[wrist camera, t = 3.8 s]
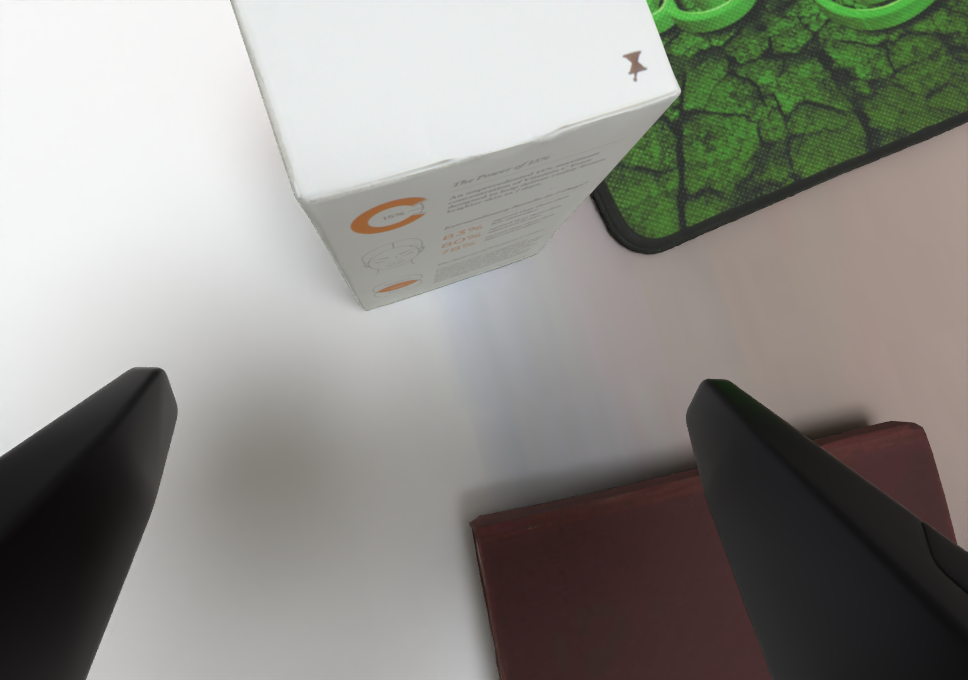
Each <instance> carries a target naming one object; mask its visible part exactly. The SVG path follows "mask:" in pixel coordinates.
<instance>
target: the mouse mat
mask: <svg viewBox="0 0 968 680" xmlns="http://www.w3.org/2000/svg"><path fill="white" fill-rule="evenodd" d="M646 2H647V4H648V7H649V9H650V12H651V14H652V17H653V20H654V22H655V25H656V28H657V30H658V33H659V36H660V38H661V41H662V44H663V47H664V49H665V52H666V55H667V58H668V60H669V63H670V66H671V68H672V71H673V74H674V76H675V78H676V80H677V82H678V85H679V87H680V89H681V93H680V95H679V96H678V97H677V98H676V100H675V101H674V102H673V103H672V104H671V105H670V106H669V107H668V108H667V110H666V111H665V112H664V113H663V114H662V115H661V116H660V117H659V119H658V120H657V121H656V122H655V123H654V124H653V125H652V126H651V127H650V128H649V129H648V131H647V132H646V133H645V134H644V135H643V136H642V137H641V138H640V140H639V141H638V142H637V143H636V144H635V145H634V146H633V147H632V148H631V150H630V151H629V152H628V153H627V154H626V155H625V156H624V157H623V158H622V159H621V161H620V162H619V163H618V164H617V165H616V166H615V167H614V168H613V170H612V171H611V172H610V173H609V174H608V175H607V176H606V177H605V178H604V179H603V181H602V182H601V183H600V184H599V185H598V186H597V187H596V188H595V189H594V190H593V195H594V197H595V200H596V201H597V203H598V206H599V208H600V211H601V213H602V215H603V217H604V219H605V222H606V223H607V225H608V229H609V230H610V232H611V234H612V235H613V236H614V237H615V238H616V239H617V240H618V241H619V242H620V243H621V244H623V245H624V246H625V247H627V248H629V249H631V250H633V251H636V252H640V253H644V254H656V253H660V252H663V251H666V250H669V249H671V248H673V247H675V246H678V245H680V244H682V243H684V242H686V241H689V240H691V239H694V238H696V237H698V236H699V235H702V234H704V233H706V232H709V231H711V230H714V229H717V228H718V227H720V226H723V225H725V224H727V223H730V222H732V221H735V220H737V219H739V218H741V217H744V216H746V215H749V214H751V213H753V212H755V211H758V210H760V209H762V208H765V207H767V206H769V205H772V204H773V203H776V202H779V201H781V200H784V199H786V198H787V197H791V196H794V195H795V194H797V193H799V192H801V191H804V190H806V189H809V188H811V187H813V186H815V185H817V184H820V183H822V182H825V181H827V180H829V179H831V178H834V177H836V176H838V175H841V174H843V173H846V172H849V171H851V170H853V169H856V168H858V167H861V166H864V165H866V164H869V163H871V162H874V161H876V160H878V159H880V158H883V157H886V156H888V155H890V154H892V153H895V152H898V151H901V150H903V149H905V148H907V147H909V146H912V145H915V144H918V143H920V142H923V141H926V140H928V139H930V138H932V137H934V136H937V135H939V134H942V133H944V132H946V131H949V130H951V129H953V128H955V127H958V126H960V125H962V124H964V123H966V122H968V0H646Z"/></svg>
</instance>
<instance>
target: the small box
mask: <svg viewBox="0 0 968 680" xmlns="http://www.w3.org/2000/svg"><path fill="white" fill-rule="evenodd" d="M230 1H231V4H232V7H233V10H234V13H235V16H236V19H237V23H238V26H239V29H240V32H241V35H242V38H243V41H244V44H245V47H246V50H247V53H248V56H249V59H250V62H251V65H252V68H253V71H254V74H255V77H256V80H257V83H258V86H259V89H260V92H261V95H262V98H263V101H264V105H265V108H266V111H267V114H268V117H269V120H270V123H271V126H272V129H273V132H274V135H275V138H276V141H277V144H278V147H279V150H280V153H281V156H282V159H283V162H284V165H285V168H286V171H287V174H288V177H289V180H290V183H291V186H292V189H293V192H294V195H295V197H296V199H297V200H298V202H299V203H300V205H301V206H302V208H303V209H304V211H305V212H306V214H307V215H308V217H309V218H310V220H311V222H312V223H313V225H314V227H315V228H316V230H317V232H318V234H319V235H320V237H321V239H322V241H323V242H324V244H325V246H326V248H327V249H328V251H329V253H330V254H331V256H332V258H333V260H334V261H335V263H336V265H337V266H338V268H339V270H340V271H341V273H342V275H343V277H344V279H345V281H346V282H347V284H348V286H349V288H350V289H351V291H352V293H353V295H354V296H355V298H356V300H357V301H358V303H359V305H360V306H361V307H362V308H363V309H364V310H365V311H368V310H371V309H374V308H377V307H380V306H384V305H387V304H390V303H393V302H396V301H399V300H402V299H405V298H409V297H412V296H415V295H418V294H421V293H424V292H427V291H430V290H433V289H436V288H439V287H442V286H445V285H448V284H451V283H454V282H457V281H460V280H463V279H466V278H469V277H472V276H475V275H478V274H481V273H484V272H487V271H490V270H493V269H496V268H499V267H502V266H505V265H508V264H511V263H513V262H516V261H519V260H522V259H525V258H527V257H530V256H533V255H536V254H537V253H538V252H539V251H540V250H541V248H542V247H543V246H544V245H545V244H546V243H547V242H548V241H549V240H550V238H551V237H552V236H553V235H554V233H555V232H556V231H557V230H558V229H559V228H560V227H561V225H562V224H563V223H564V222H565V221H566V220H567V219H568V218H569V217H570V215H571V214H572V213H573V212H574V211H575V210H576V209H577V208H578V207H579V206H580V204H581V203H582V202H583V201H584V200H585V199H586V198H587V197H588V196H589V195H590V194H591V193H592V192H593V190H594V189H595V188H596V187H597V186H598V185H599V184H600V183H601V182H602V181H603V179H604V178H605V177H606V176H607V175H608V174H609V173H610V172H611V171H612V170H613V168H614V167H615V166H616V165H617V164H618V163H619V162H620V161H621V159H622V158H623V157H624V156H625V155H626V154H627V153H628V152H629V151H630V150H631V148H632V147H633V146H634V145H635V144H636V143H637V142H638V141H639V140H640V138H641V137H642V136H643V135H644V134H645V133H646V132H647V131H648V129H649V128H650V127H651V126H652V125H653V124H654V123H655V122H656V121H657V120H658V119H659V117H660V116H661V115H662V114H663V113H664V112H665V111H666V110H667V108H668V107H669V106H670V105H671V104H672V103H673V102H674V101H675V100H676V98H677V97H678V96H679V95H680V93H681V89H680V87H679V85H678V82H677V80H676V78H675V76H674V74H673V71H672V68H671V66H670V63H669V60H668V58H667V55H666V52H665V49H664V47H663V44H662V41H661V38H660V36H659V33H658V30H657V28H656V25H655V22H654V20H653V17H652V14H651V12H650V9H649V7H648V4H647V2H646V0H230Z"/></svg>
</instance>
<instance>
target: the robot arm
mask: <svg viewBox="0 0 968 680" xmlns="http://www.w3.org/2000/svg"><path fill="white" fill-rule="evenodd" d="M177 413H178V408H177V403H176V400H175V397H174V394H173V391H172V388H171V386H170V383H169V380H168V377H167V375H166V373H165V371H164V370H163V369H161V368H157V367H135V368H132V369H130V370H128V371H126V372H125V373H123V374H122V375H121V376H119V377H118V378H116V379H115V380H113V381H112V382H110V383H109V384H107V385H106V386H104V387H103V388H101V389H100V390H98V391H97V392H95V393H94V394H92V395H91V396H90V397H88V398H87V399H85V400H84V401H82V402H81V403H79V404H78V405H76V406H75V407H73V408H72V409H70V410H69V411H67V412H66V413H64V414H63V415H61V416H60V417H59V418H57V419H56V420H54V421H53V422H51V423H50V424H48V425H47V426H45V427H44V428H42V429H41V430H39V431H38V432H36V433H35V434H33V435H32V436H31V437H29V438H28V439H26V440H25V441H23V442H22V443H20V444H19V445H17V446H16V447H14V448H13V449H11V450H10V451H8V452H7V453H5V454H4V455H2V456H1V457H0V680H86V678H87V675H88V673H89V670H90V667H91V665H92V662H93V660H94V657H95V655H96V652H97V650H98V647H99V645H100V642H101V640H102V637H103V635H104V632H105V629H106V627H107V624H108V622H109V619H110V617H111V614H112V612H113V609H114V607H115V604H116V602H117V599H118V596H119V594H120V591H121V589H122V586H123V584H124V581H125V579H126V576H127V574H128V571H129V569H130V566H131V563H132V561H133V558H134V556H135V553H136V551H137V548H138V546H139V543H140V541H141V538H142V536H143V533H144V530H145V528H146V525H147V523H148V520H149V518H150V515H151V512H152V509H153V507H154V503H155V500H156V497H157V493H158V489H159V486H160V482H161V478H162V474H163V470H164V466H165V462H166V459H167V455H168V451H169V447H170V443H171V439H172V435H173V432H174V428H175V424H176V420H177ZM686 423H687V427H688V431H689V435H690V439H691V443H692V447H693V451H694V455H695V459H696V463H697V467H698V471H699V475H700V479H701V483H702V487H703V491H704V494H705V498H706V501H707V504H708V507H709V510H710V512H711V515H712V518H713V521H714V523H715V526H716V529H717V531H718V534H719V537H720V539H721V542H722V545H723V548H724V550H725V553H726V556H727V558H728V561H729V564H730V567H731V569H732V572H733V575H734V577H735V580H736V583H737V586H738V588H739V591H740V594H741V596H742V599H743V602H744V604H745V607H746V610H747V613H748V615H749V618H750V621H751V623H752V626H753V629H754V632H755V634H756V637H757V640H758V642H759V645H760V648H761V650H762V653H763V656H764V659H765V661H766V664H767V667H768V669H769V672H770V675H771V678H772V680H968V552H967V551H965V550H964V549H962V548H961V547H960V546H958V545H957V544H955V543H954V542H952V541H951V540H950V539H948V538H947V537H945V536H944V535H943V534H941V533H940V532H938V531H937V530H936V529H934V528H933V527H932V526H930V525H929V524H927V523H926V522H921V520H920V518H919V517H918V516H916V515H915V514H913V513H912V512H911V511H909V510H908V509H906V508H905V507H904V506H902V505H901V504H900V503H898V502H897V501H895V500H894V499H893V498H891V497H890V496H888V495H887V494H886V493H884V492H883V491H881V490H880V489H879V488H877V487H876V486H875V485H873V484H872V483H870V482H869V481H868V480H866V479H865V478H863V477H862V476H861V475H859V474H858V473H857V472H855V471H854V470H852V469H851V468H850V467H848V466H847V465H845V464H844V463H843V462H841V461H840V460H838V459H837V458H836V457H834V456H833V455H832V454H830V453H829V452H827V451H826V450H825V449H823V448H822V447H820V446H819V445H818V444H816V443H815V442H814V441H812V440H811V439H809V438H808V437H807V436H805V435H804V434H802V433H801V432H800V431H798V430H797V429H795V428H794V427H793V426H791V425H790V424H789V423H787V422H786V421H784V420H783V419H782V418H780V417H779V416H777V415H776V414H775V413H773V412H772V411H771V410H769V409H768V408H766V407H765V406H764V405H762V404H761V403H759V402H758V401H757V400H755V399H754V398H752V397H751V396H750V395H748V394H747V393H746V392H744V391H743V390H741V389H740V388H739V387H737V386H736V385H734V384H733V383H732V382H730V381H728V380H725V379H706V380H704V381H703V382H701V384H700V385H699V387H698V389H697V391H696V393H695V395H694V397H693V400H692V402H691V404H690V406H689V408H688V410H687V414H686Z"/></svg>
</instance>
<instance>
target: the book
mask: <svg viewBox="0 0 968 680" xmlns="http://www.w3.org/2000/svg"><path fill="white" fill-rule="evenodd" d="M812 441H814V442H815V443H816V444H818V445H819V446H820V447H822V448H823V449H825V450H826V451H827V452H829V453H830V454H832V455H833V456H834V457H836V458H837V459H838V460H840V461H841V462H843V463H844V464H845V465H847V466H848V467H850V468H851V469H852V470H854V471H855V472H857V473H858V474H859V475H861V476H862V477H863V478H865V479H866V480H868V481H869V482H870V483H872V484H873V485H875V486H876V487H877V488H879V489H880V490H881V491H883V492H884V493H886V494H887V495H888V496H890V497H891V498H893V499H894V500H895V501H897V502H898V503H900V504H901V505H902V506H904V507H905V508H906V509H908V510H909V511H911V512H912V513H913V514H915V515H916V516H918V517H919V518H920V520H921V522H926V523H927V524H929V525H930V526H932V527H933V528H934V529H936V530H937V531H938V532H940V533H941V534H943V535H944V536H945V537H947V538H948V539H950V540H951V541H952V542H954V543H955V544H957V542H956V538H955V534H954V530H953V526H952V522H951V518H950V514H949V510H948V506H947V502H946V499H945V495H944V491H943V488H942V484H941V481H940V478H939V474H938V471H937V467H936V464H935V460H934V457H933V453H932V450H931V447H930V444H929V441H928V439H927V436H926V433H925V431H924V429H923V427H921V426H919V425H917V424H916V423H911V422H898V421H889V422H884V423H880V424H876V425H871V426H867V427H863V428H859V429H855V430H851V431H847V432H844V433H840V434H836V435H832V436H828V437H824V438H819V439H815V440H812ZM469 524H470V526H471V528H472V531H473V537H474V543H475V549H476V555H477V561H478V567H479V572H480V577H481V582H482V587H483V592H484V597H485V602H486V607H487V612H488V618H489V623H490V627H491V632H492V637H493V642H494V646H495V653H496V663H497V667H498V671H499V675H500V680H772V678H771V675H770V672H769V669H768V667H767V664H766V661H765V659H764V656H763V653H762V650H761V648H760V645H759V642H758V640H757V637H756V634H755V632H754V629H753V626H752V623H751V621H750V618H749V615H748V613H747V610H746V607H745V604H744V602H743V599H742V596H741V594H740V591H739V588H738V586H737V583H736V580H735V577H734V575H733V572H732V569H731V567H730V564H729V561H728V558H727V556H726V553H725V550H724V548H723V545H722V542H721V539H720V537H719V534H718V531H717V529H716V526H715V523H714V521H713V518H712V515H711V512H710V510H709V507H708V504H707V501H706V498H705V494H704V491H703V487H702V483H701V479H700V475H699V471H698V468H697V469H692V470H688V471H684V472H679V473H675V474H671V475H667V476H663V477H658V478H654V479H649V480H645V481H641V482H637V483H633V484H629V485H624V486H620V487H616V488H611V489H607V490H603V491H599V492H594V493H590V494H586V495H581V496H576V497H571V498H566V499H561V500H556V501H552V502H547V503H542V504H538V505H533V506H528V507H523V508H518V509H513V510H508V511H503V512H498V513H493V514H488V515H483V516H479V517H478V518H476V519H475V520H473V521H472V522H470V523H469Z"/></svg>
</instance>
